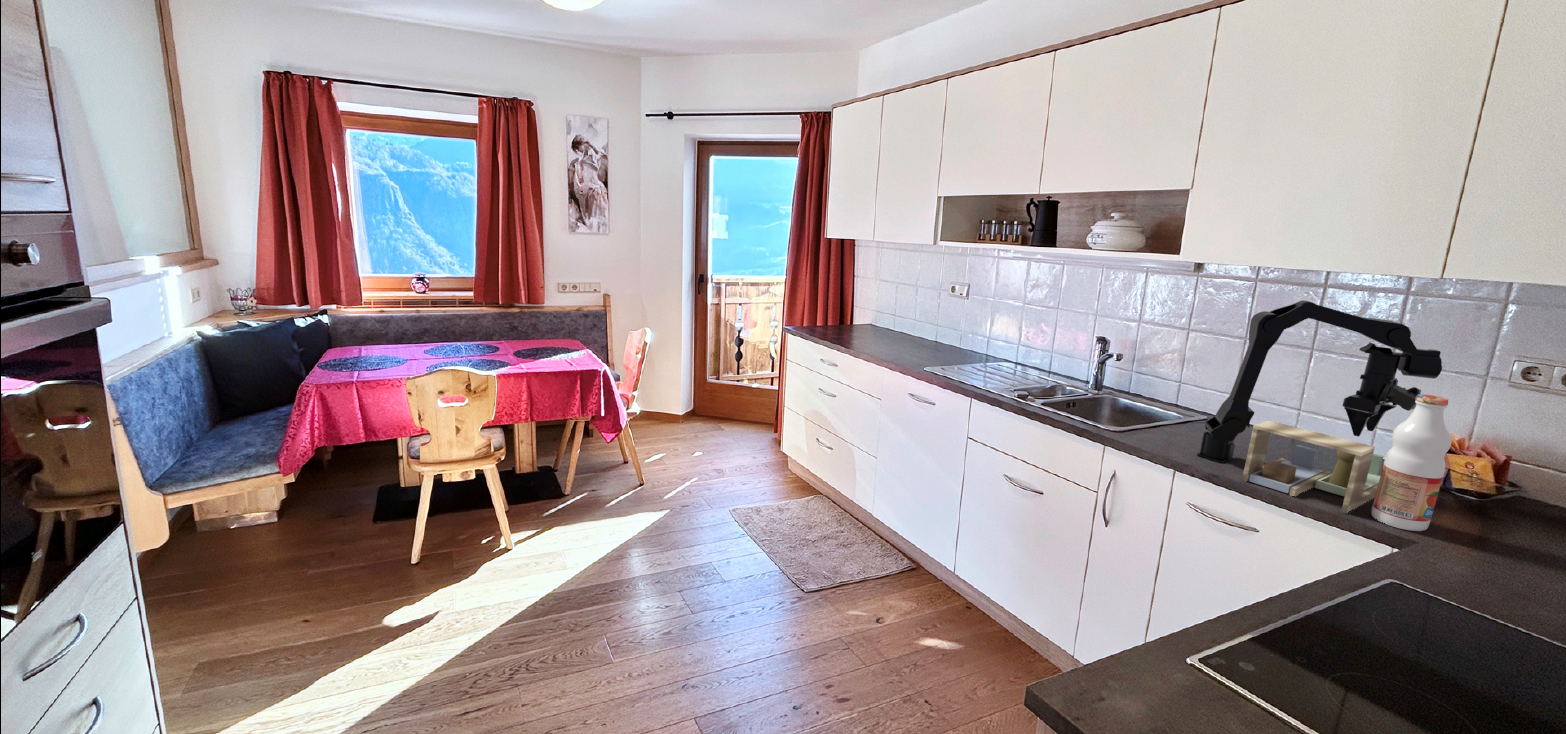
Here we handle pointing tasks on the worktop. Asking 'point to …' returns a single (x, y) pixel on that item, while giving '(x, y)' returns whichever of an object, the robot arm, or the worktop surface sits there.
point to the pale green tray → (1370, 482)
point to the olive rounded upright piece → (1342, 469)
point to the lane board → (1356, 480)
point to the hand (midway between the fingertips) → (1363, 433)
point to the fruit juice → (1414, 467)
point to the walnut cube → (1279, 472)
